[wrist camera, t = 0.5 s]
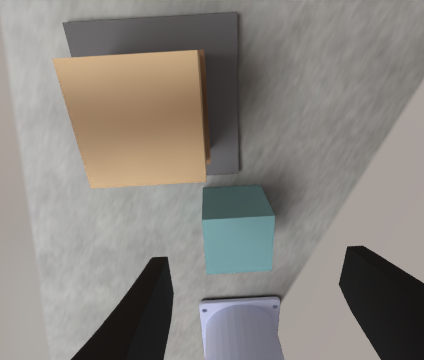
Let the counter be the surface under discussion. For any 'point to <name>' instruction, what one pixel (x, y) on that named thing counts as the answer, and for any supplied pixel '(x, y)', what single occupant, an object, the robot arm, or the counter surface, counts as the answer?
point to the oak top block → (136, 117)
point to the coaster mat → (179, 41)
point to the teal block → (237, 229)
